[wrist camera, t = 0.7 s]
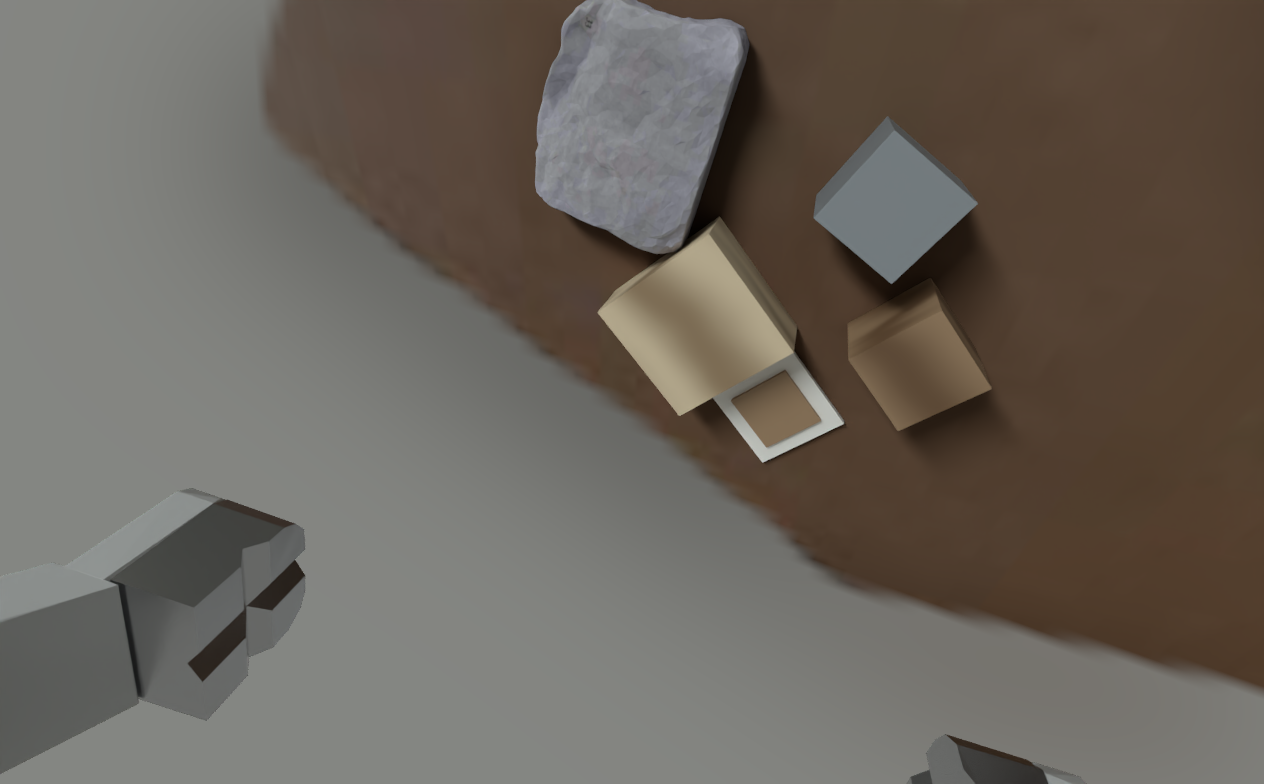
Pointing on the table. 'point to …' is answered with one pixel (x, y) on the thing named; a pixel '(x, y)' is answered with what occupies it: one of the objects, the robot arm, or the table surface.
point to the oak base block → (700, 319)
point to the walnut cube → (915, 356)
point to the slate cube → (892, 201)
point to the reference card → (779, 408)
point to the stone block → (636, 118)
